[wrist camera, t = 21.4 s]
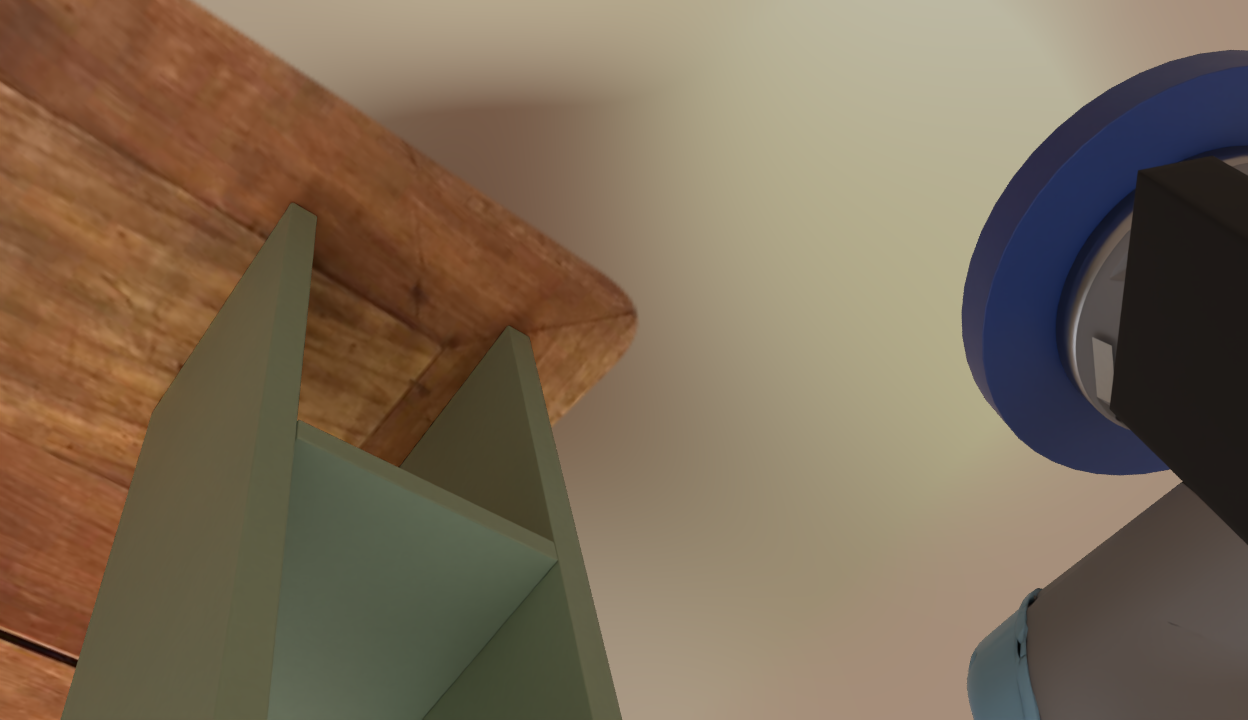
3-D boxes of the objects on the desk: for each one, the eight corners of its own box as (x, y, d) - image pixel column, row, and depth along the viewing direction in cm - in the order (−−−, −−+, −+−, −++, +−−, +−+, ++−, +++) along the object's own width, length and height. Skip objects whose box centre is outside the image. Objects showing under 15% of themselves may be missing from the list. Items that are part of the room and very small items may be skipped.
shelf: (291, 201, 47) (185, 908, 20) (529, 337, 53) (702, 1044, 25) (151, 413, 51) (-102, 1258, 24) (386, 520, 56) (402, 1313, 29)
